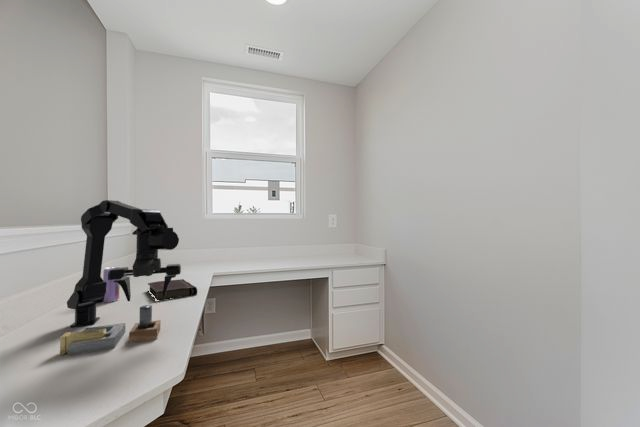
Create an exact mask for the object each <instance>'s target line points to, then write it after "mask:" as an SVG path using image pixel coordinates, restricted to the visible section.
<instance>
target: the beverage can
mask: <svg viewBox="0 0 640 427" xmlns="http://www.w3.org/2000/svg"><path fill="white" fill-rule="evenodd" d="M114 268H120V267H119V266H110V267H104V269H103V274H102V279H103V281H104V282H106V283H107V286H106V293H105V297H104V301H103V303H105V302H109V303H113V302H112V301H115V302H117V301H116V300H118V301H119V299H120V287H121V286H120V284H118V283H117V282H114V280H108V272H109V271H110V270H112V269H114Z"/></svg>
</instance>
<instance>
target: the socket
mask: <svg viewBox="0 0 640 427" xmlns="http://www.w3.org/2000/svg"><path fill="white" fill-rule="evenodd" d="M104 328H106V337H104V338H97V339H91V340H84V341H77V342H70V343H69V350H68V353H67V354H68V356H72V355H73V356H74V355H79V354H80V355H81V354H85V353H92V352H97V351H105V350H112V349H115V348H116V347H117V345H118V343H119V342H120V341H121V339H123V337H124V335H125V333H126V322H120V323H114V324H109V325H107V324H106V325H99V326H98V325H97V326H91V327H85V328H84V330H82V331H89V330H96V329H104Z"/></svg>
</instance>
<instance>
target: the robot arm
mask: <svg viewBox="0 0 640 427" xmlns="http://www.w3.org/2000/svg"><path fill="white" fill-rule="evenodd" d="M119 217H121V218H123V219H126V220H128V221H129V224H131V225H132V226H133V227H136V229H135V230H134V231H133V232H132V233H131V234H132V235H134V236H135V235H136V256H135V260H134V263H133V264H132V269H130V268H129V267H128V266H124V267H123V266H122V267H119V268H114V269H112V270H110V271H109V272H108V280H114V282H117V283H118V284H120V287H121V289H122V291H123V293H124V295H125V299H126V301H127V302H131V297H132V294H131V282H130V281H131V279H130V278H131V277H130V276H133V277H134V278H139V277H151V276H152V275H154V274H155V275H156V274H165V276H164V280H163V281H164V288H163V298H164V297H165V294H166V291H167V288H168V285H169V283H170V281H171V280H173V279H172V278H174V279H175V278H176V277H177V276H178V275H180V274H181V272H182V265H181V264H180V263H173V264H172V263H171V264H169V263H168V264H166V266H163V267H162V260H161V258H160V257H159V250H161V251H162V250H164V251H166V250H168V251H172V250H174V249H175V248H177V246H178V245H179V242H180V238H179V236H178V233H176V232H175V231H174V227H171V226H170V227H169V226H168V224H167V222H166V221H165V218H164V217H163V215H162V213H161V211H160V210H158V209H146V208H145V209H144V208H139V207H136V206H132V205H129V204H126V203H124V202H121V201H119V200H109V199H108V200H107V199H104V200H102V201H100V202H99V204H97V205H94V206H91V207H90V208H87V210H86V211H84V212H83V213H82V215H81V217H80V221H81V229H82V231H83V233H85V235H86V240H85V241H86V242H85V252H84V258H83V259H84V260H83V267H82V268H83V269H82V276H81V278H80V279H79V280H78V281H77V282H76V284H75V286H74V289H73V292H72V294H71V295H70V296H69V298H68V299H67V301H66V305H67V309H71V310H74V322H72V323H71V325H69V327H70V328H73V327H83V326H90V325H95V324H96V323H97V322H98V321H99V320H100V319H101V318H100V317H99V316H97V304H103V303H104V302H103V301H104V297H105V293H106V286H107V283H106V282H104V281H103V277H101V274H102V266H103V258H104V247H105V240H106V239H105V238H106V236H107V235H108V234H109V233H110V232H111V231H112V229H113V224H114V223H115V221H117V220H118V219H119Z"/></svg>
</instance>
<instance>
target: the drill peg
mask: <svg viewBox="0 0 640 427" xmlns="http://www.w3.org/2000/svg"><path fill="white" fill-rule="evenodd" d="M152 315H153V305H152V304H147V305H146V304H145V305H142V306H139V322H138V323H139V329H146V328H152V321H153V320H152V319H153V318H152V317H153V316H152Z"/></svg>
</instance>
